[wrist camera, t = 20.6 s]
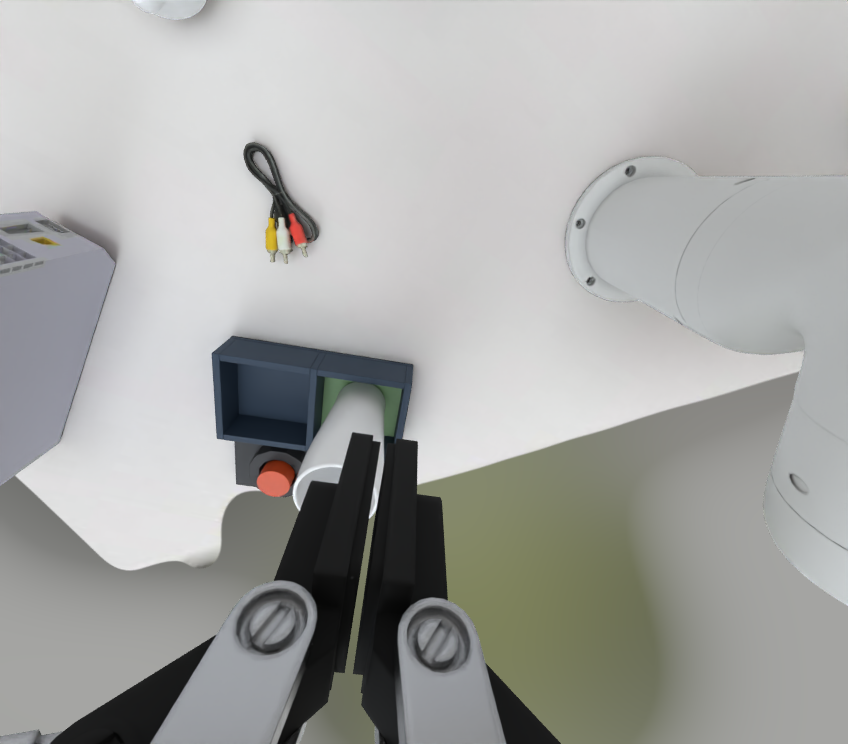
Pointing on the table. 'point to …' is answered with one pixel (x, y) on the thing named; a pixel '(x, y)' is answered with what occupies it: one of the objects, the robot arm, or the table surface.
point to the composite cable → (280, 210)
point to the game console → (43, 330)
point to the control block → (263, 462)
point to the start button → (275, 478)
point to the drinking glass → (343, 439)
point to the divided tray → (296, 391)
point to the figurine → (171, 8)
